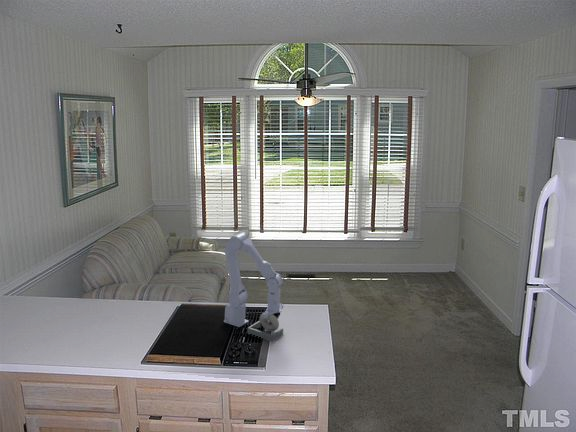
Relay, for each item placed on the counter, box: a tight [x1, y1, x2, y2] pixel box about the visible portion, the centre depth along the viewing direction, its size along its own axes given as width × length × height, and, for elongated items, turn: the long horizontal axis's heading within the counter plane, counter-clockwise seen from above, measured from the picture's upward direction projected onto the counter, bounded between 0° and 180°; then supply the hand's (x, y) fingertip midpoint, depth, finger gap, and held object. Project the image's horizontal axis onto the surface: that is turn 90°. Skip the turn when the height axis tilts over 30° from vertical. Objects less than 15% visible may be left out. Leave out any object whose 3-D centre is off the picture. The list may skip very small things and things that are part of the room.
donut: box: [259, 313, 280, 332], centre depth 236 cm, size 10×4×10 cm, turn 61°
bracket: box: [247, 320, 284, 343], centre depth 235 cm, size 14×9×3 cm
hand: (272, 326), depth 240 cm, fingers closed, pressing on donut
